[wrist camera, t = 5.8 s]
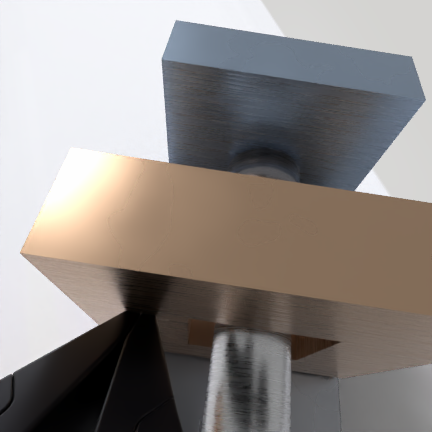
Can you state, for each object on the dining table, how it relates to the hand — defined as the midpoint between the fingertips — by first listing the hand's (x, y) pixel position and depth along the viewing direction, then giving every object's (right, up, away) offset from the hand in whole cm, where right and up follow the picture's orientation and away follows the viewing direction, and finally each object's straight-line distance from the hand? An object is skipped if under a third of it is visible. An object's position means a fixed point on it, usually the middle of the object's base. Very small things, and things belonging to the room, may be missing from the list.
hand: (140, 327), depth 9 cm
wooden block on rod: (+3, -2, +6) cm, 7 cm away
